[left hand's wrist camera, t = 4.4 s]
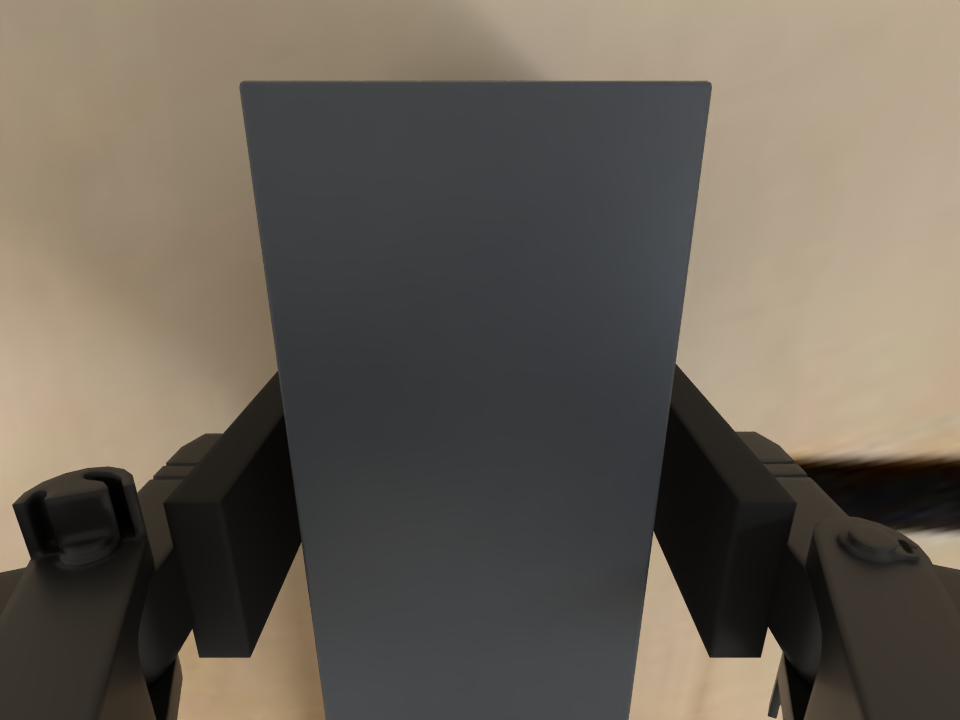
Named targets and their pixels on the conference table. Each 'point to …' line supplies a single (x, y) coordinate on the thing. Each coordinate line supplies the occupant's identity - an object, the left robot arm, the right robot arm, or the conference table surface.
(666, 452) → the left robot arm
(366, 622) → the beam
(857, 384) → the conference table surface
